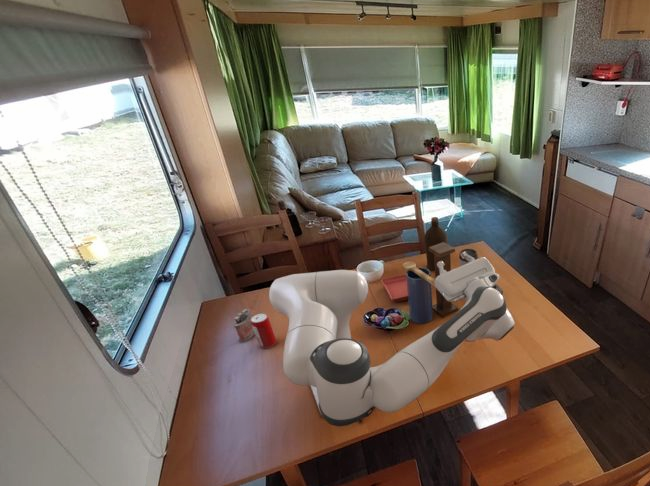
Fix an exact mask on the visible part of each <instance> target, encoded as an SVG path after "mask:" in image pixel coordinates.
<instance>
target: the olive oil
mask: <svg viewBox="0 0 650 486" xmlns="http://www.w3.org/2000/svg"><path fill="white" fill-rule="evenodd" d="M430 219H431V221H430V224H431V226H430V227H429V228H428V229H427V230H426V231H425V233H424V235H423V236H424V238H423V239H424V246H425V256H426V266H427V267H426V268H427V269H428V270H429V271H434V272H435V264H434V254H433V253H432V252H430V251H429V247H431V246H434V245H437V244H439V243H442V242H444V243H446V244H448V235H447V232H446V231H445V230H444V229H443V228H442V227H441V226H440V225H439V223H440V222H439V217H437V216H433V217H431V218H430Z"/></svg>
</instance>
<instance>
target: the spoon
mask: <svg viewBox="0 0 650 486" xmlns="http://www.w3.org/2000/svg"><path fill="white" fill-rule="evenodd" d="M416 267H417V263H416V262H414V261H406V262H403V264H402V270H404V271H406V272H407V271H413V272H414V273H416V274H417V275H419V276H420V277H422V278H423V279H425V280H426V281H428V282H429V283H431V286H434V287H435V285H434V281H435V278H434V277H432V276H431V277H430V276H429V275H427V274H426V273H424V272H422V271H421V270H419V269H418V268H416Z"/></svg>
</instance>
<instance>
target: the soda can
mask: <svg viewBox="0 0 650 486" xmlns="http://www.w3.org/2000/svg"><path fill="white" fill-rule="evenodd" d="M251 323H252V327H253V329H254V332H255V334H254V335H255V337H256V339H257V343H258V346H259V347H260V348H262V349H269V348H272V347H274V345H275V344H276V343H277V338H276V335H275V333H274V330H273V327H272V324H271V321H270V319H269V317H268V316H267V314H266V313H258V314H255V315H253V316H252V319H251Z"/></svg>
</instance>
